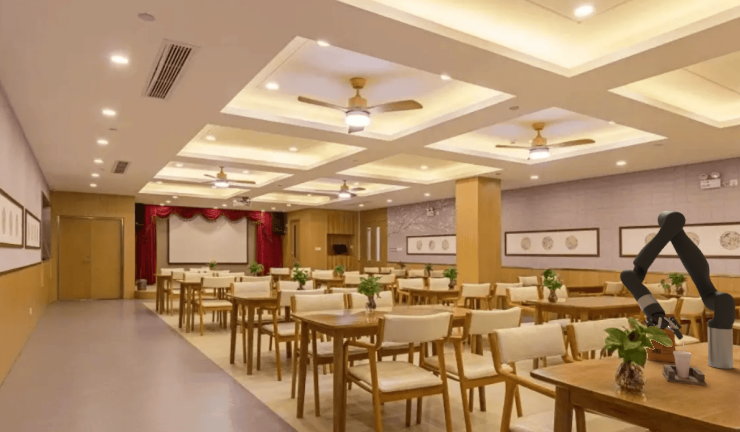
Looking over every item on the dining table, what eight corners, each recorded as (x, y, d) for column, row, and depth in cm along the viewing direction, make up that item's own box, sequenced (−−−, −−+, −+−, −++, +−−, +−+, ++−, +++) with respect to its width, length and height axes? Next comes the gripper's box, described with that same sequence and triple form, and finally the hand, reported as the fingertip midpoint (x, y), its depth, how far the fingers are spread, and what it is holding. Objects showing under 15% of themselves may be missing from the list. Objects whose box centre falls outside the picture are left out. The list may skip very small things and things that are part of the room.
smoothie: (695, 379, 199) (694, 343, 200) (677, 378, 201) (676, 342, 201) (688, 375, 206) (687, 340, 206) (671, 374, 207) (670, 339, 208)
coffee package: (646, 355, 244) (645, 310, 245) (676, 359, 237) (675, 312, 238) (645, 359, 235) (644, 312, 236) (676, 363, 229) (675, 315, 230)
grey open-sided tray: (662, 373, 211) (662, 363, 211) (698, 377, 206) (698, 367, 207) (667, 381, 199) (667, 371, 199) (706, 385, 194) (706, 375, 195)
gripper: (641, 302, 216) (663, 334, 204) (669, 301, 219) (692, 333, 208) (632, 313, 221) (653, 344, 209) (659, 312, 224) (681, 343, 213)
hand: (672, 338), depth 209 cm, fingers open, 8 cm apart
